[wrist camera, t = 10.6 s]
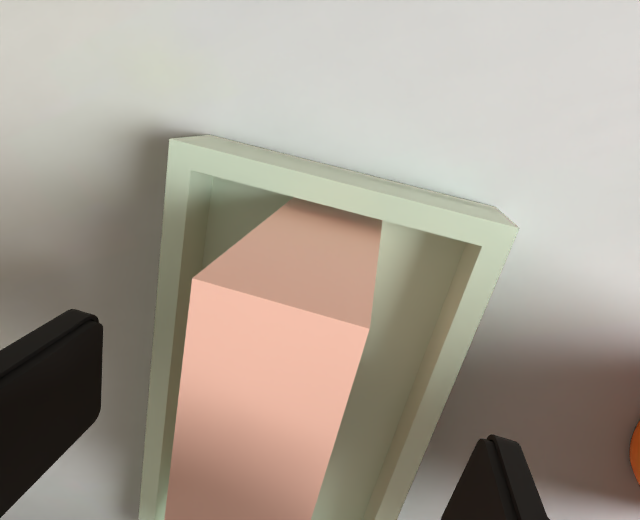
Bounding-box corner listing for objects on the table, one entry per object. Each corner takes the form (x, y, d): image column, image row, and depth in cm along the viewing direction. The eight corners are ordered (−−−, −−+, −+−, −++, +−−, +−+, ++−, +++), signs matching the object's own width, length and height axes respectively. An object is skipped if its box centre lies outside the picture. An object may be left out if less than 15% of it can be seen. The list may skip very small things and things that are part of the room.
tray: (495, 207, 11) (519, 228, 9) (349, 582, 17) (342, 646, 15) (209, 134, 12) (169, 138, 10) (164, 519, 17) (133, 573, 15)
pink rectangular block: (382, 218, 11) (369, 328, 5) (300, 505, 15) (241, 744, 9) (295, 195, 11) (192, 278, 5) (237, 485, 15) (142, 706, 9)
